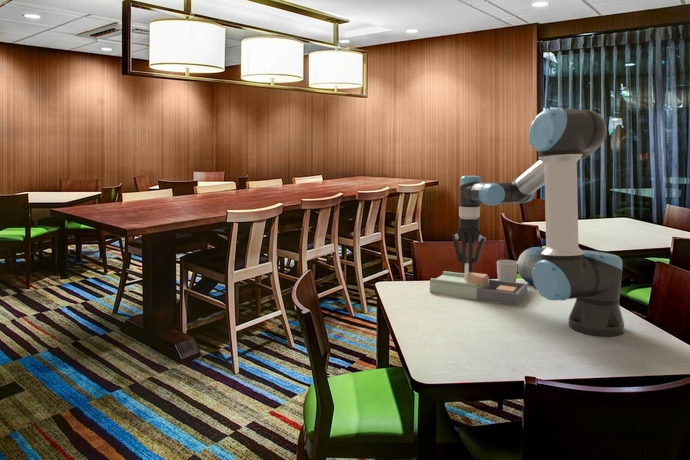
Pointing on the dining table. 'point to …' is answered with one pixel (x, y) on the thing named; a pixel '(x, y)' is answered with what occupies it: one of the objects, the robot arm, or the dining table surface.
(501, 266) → the cup
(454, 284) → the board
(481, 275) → the tile rear
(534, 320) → the dining table surface
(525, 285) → the tray
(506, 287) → the tile front
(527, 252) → the decorative ball
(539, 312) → the dining table surface
